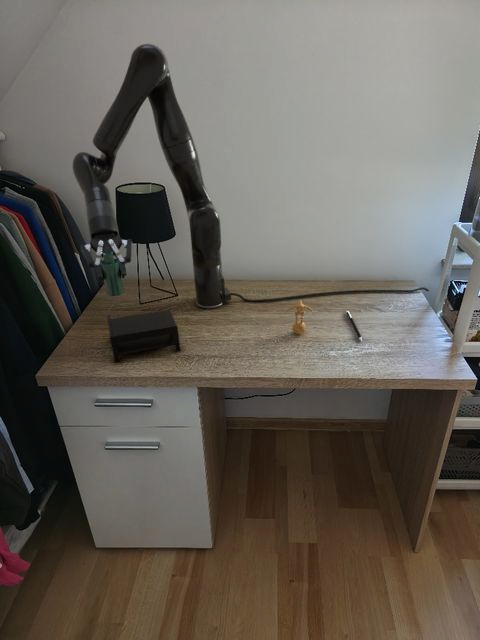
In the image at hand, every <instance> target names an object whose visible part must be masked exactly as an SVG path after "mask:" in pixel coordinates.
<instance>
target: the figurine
mask: <svg viewBox="0 0 480 640" xmlns="http://www.w3.org/2000/svg"><path fill="white" fill-rule="evenodd" d="M293 309H296V310H295V312H294V316H295V321H294V322H293V324H292V326H291V328H292V331H293V333H295V334H296V335H302V334H304V333H305V331H306V329H307V327H306V324H305V322H304V321H303V320H304V316H305V311H304V309H307V310H310V312H311V313H312V314H313V315H315V312H314V311H313V308H311V307H310V306H308V305H306V304H304V303H303V302H302V300H301V299H298V301H297V303H296V304H295V305H293V306H291V307H289V308H288V309H286V311H285V313H284V315H286V314H287V313H288V312H289V311H290V310H293ZM298 316H301V317H300V320H298V319H299V318H298Z"/></svg>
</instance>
